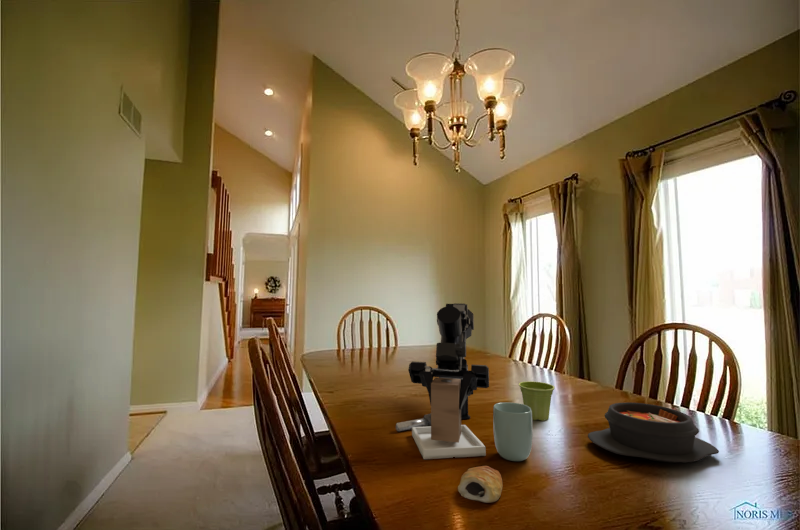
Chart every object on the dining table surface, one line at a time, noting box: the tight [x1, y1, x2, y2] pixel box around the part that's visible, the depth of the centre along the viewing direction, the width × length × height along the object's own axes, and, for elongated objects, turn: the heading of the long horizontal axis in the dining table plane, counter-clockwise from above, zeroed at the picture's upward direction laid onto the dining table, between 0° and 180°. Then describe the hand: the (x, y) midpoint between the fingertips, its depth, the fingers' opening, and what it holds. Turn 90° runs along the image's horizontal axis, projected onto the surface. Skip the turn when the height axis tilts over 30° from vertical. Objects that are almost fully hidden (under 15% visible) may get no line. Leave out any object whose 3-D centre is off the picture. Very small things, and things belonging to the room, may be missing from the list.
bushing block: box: [430, 377, 462, 443], centre depth 83 cm, size 6×6×12 cm
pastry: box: [457, 465, 504, 504], centre depth 63 cm, size 9×7×4 cm
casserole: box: [587, 402, 720, 463], centre depth 80 cm, size 25×19×8 cm
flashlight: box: [395, 413, 431, 433], centre depth 92 cm, size 11×3×3 cm, turn 119°
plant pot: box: [518, 380, 555, 422], centre depth 101 cm, size 9×9×9 cm
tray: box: [411, 424, 487, 460], centre depth 82 cm, size 13×13×2 cm
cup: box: [492, 401, 533, 462], centre depth 76 cm, size 8×8×10 cm
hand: (445, 407), depth 81 cm, fingers closed on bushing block, 6 cm apart
